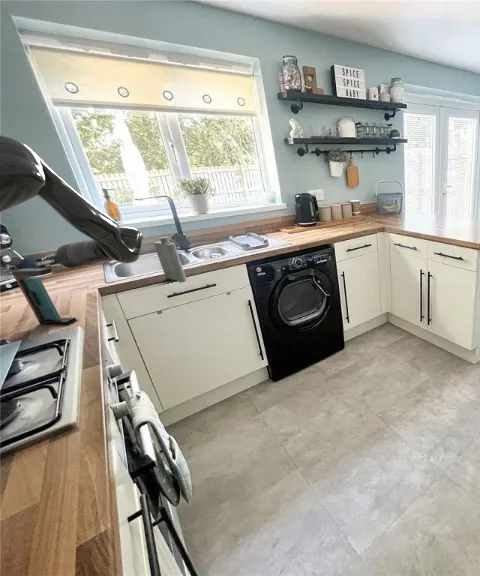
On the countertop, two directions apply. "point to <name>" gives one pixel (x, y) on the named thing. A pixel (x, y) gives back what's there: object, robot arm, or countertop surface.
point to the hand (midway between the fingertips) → (38, 263)
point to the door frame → (19, 277)
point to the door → (41, 298)
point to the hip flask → (169, 259)
